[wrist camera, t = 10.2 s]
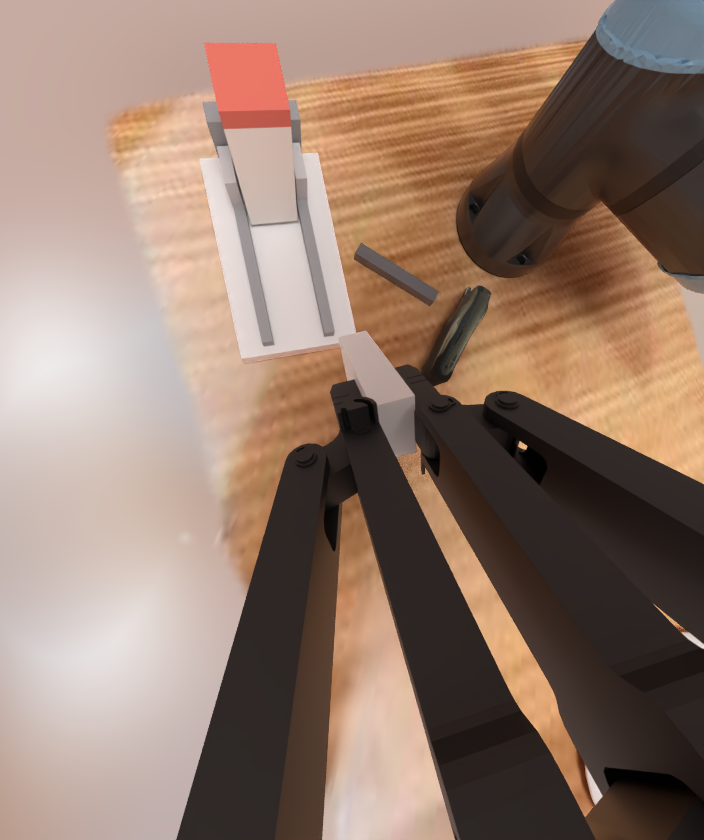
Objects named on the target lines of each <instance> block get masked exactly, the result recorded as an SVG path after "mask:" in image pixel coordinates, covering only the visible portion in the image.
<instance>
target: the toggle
mask: <svg viewBox="0 0 704 840" xmlns="http://www.w3.org/2000/svg"><path fill="white" fill-rule="evenodd" d="M204 45H205V50H206V54H207V59H208V64H209V69H210V74H211V78H212V83H213V88H214V93H215V97H216V102H217V107H218V112H219V115H220V118H221V122H222V125H223V129H224V132H225V136H226V139H227V142H228V146H229V149H230V153H231V156H232V160H233V163H234V167H235V170H236V173H237V177H238V180H239V184H240V187H241V191H242V194H243V197H244V201H245V204H246V208H247V211H248V215H249V218H250V222H251V225H254V224H265V223H277V222H288V221H297V206H296V191H295V177H294V162H293V147H292V132H291V117H290V107H289V103H288V98H287V93H286V89H285V84H284V79H283V74H282V70H281V65H280V60H279V56H278V51H277V47H276V44H257V43H204Z"/></svg>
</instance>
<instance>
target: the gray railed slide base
mask: <svg viewBox="0 0 704 840" xmlns="http://www.w3.org/2000/svg"><path fill="white" fill-rule="evenodd" d="M288 103H289V107H290V117H291V132H292V147H293V162H294V177H295V191H296V206H297V221H288V222H277V223H265V224H254V225H251V222H250V218H249V215H248V211H247V208H246V204H245V201H244V197H243V194H242V191H241V187H240V184H239V180H238V177H237V173H236V170H235V167H234V163H233V160H232V156H231V153H230V149H229V146H228V142H227V139H226V136H225V132H224V129H223V125H222V122H221V118H220V115H219V112H218V107H217V102H203V107H204V112H205V116H206V121H207V125H208V127H209V130H210V133H211V136H212V139H213V142H214V145H215V148H216V151H217V154H218V157H219V158H201V159H200V164H201V169H202V174H203V179H204V183H205V188H206V193H207V198H208V202H209V207H210V212H211V217H212V222H213V226H214V231H215V236H216V241H217V246H218V250H219V255H220V260H221V265H222V269H223V274H224V279H225V284H226V289H227V293H228V298H229V303H230V308H231V313H232V317H233V322H234V327H235V332H236V336H237V341H238V346H239V351H240V356H241V359H242V360H243V361H244V362H245V363H251V362H257V361H263V360H269V359H275V358H281V357H287V356H293V355H299V354H305V353H311V352H317V351H323V350H329V349H335V348H340V343H339V338H338V337H341V336H345V335H349V334H353V333H356V330H355V325H354V321H353V316H352V311H351V307H350V302H349V297H348V293H347V288H346V283H345V279H344V274H343V269H342V265H341V260H340V255H339V251H338V246H337V241H336V237H335V232H334V227H333V223H332V218H331V213H330V209H329V204H328V199H327V194H326V190H325V185H324V180H323V176H322V171H321V166H320V162H319V157H318V153H302V152H301V127H300V116H299V111H298V107H297V102H296V100H292V101H288Z"/></svg>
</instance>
